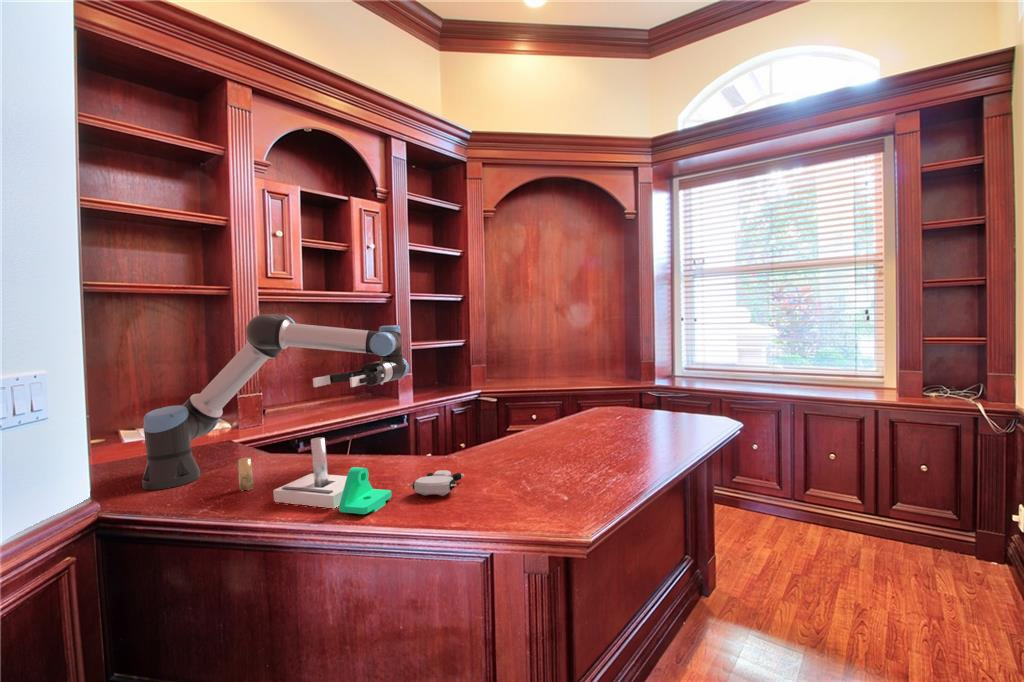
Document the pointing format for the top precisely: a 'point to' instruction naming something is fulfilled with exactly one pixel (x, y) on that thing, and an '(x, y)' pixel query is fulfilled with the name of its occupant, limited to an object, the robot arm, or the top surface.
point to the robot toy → (436, 483)
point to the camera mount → (361, 493)
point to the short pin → (245, 473)
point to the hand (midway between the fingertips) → (332, 382)
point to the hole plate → (312, 492)
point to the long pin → (319, 462)
